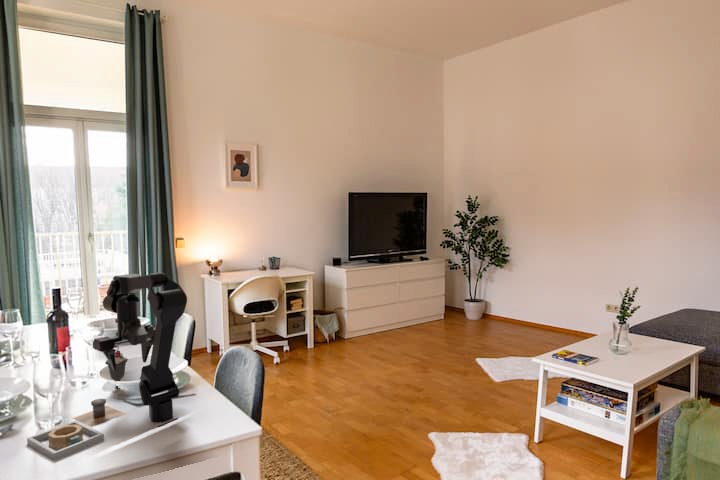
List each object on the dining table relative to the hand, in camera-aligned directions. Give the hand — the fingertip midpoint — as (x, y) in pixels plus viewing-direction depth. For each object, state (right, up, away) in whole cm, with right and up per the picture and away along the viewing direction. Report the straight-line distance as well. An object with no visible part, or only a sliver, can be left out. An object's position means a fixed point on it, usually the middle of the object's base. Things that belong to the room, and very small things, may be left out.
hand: (129, 366), depth 152 cm
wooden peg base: (-4, -13, -9) cm, 16 cm away
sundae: (-9, -11, +12) cm, 19 cm away
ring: (-5, -13, -24) cm, 28 cm away
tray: (-5, -14, -24) cm, 29 cm away
